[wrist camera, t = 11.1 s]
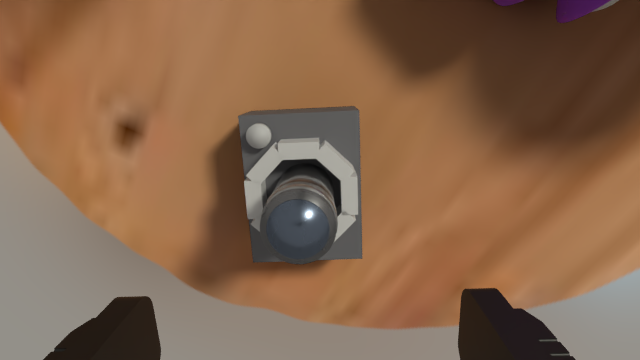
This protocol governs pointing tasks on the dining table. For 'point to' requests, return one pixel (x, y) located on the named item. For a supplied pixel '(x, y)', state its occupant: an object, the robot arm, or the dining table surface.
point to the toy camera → (570, 7)
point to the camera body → (304, 147)
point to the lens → (300, 215)
